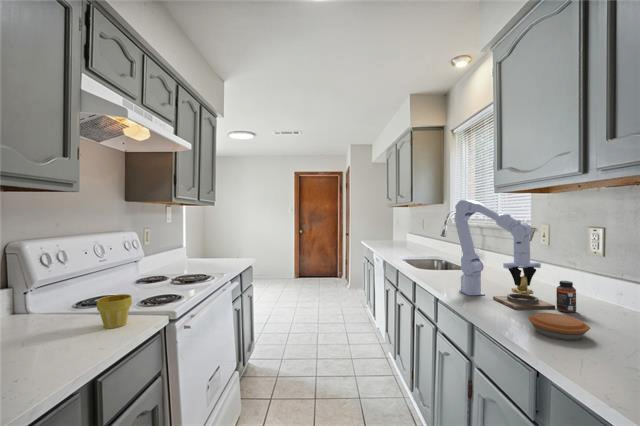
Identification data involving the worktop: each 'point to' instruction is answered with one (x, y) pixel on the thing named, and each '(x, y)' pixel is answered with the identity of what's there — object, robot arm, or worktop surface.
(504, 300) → the collar board
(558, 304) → the supplement bottle
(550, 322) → the pie
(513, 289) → the planet gear
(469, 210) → the robot arm
